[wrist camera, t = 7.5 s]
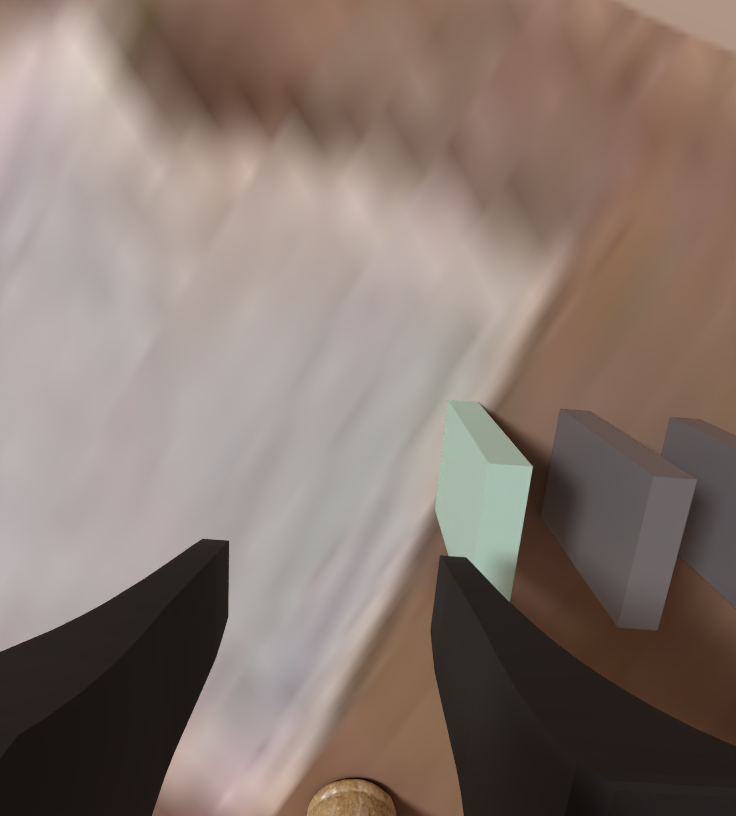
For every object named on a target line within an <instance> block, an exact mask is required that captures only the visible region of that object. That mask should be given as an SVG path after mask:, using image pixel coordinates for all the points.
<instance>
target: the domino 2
mask: <svg viewBox="0 0 736 816" xmlns="http://www.w3.org/2000/svg"><path fill="white" fill-rule="evenodd" d="M661 457H663V458H664V459H666V460H667V461H669V462H670V463H672V464H674V465H675V466H677V467H678V468H680V469H681V470H683V471H685V472H686V473H688V474H689V475H691V476H692V477H694V478H696V479H697V483H696V486H695V490H694V494H693V498H692V502H691V505H690V509H689V513H688V517H687V521H686V524H685V528H684V532H683V536H682V540H681V544H680V547H679V551H678V556H679V557H680V558H681V559H682V560H683V561H684V562H686V563H687V564H688V565H689V566H690V567H691V568H692V569H693V570H694V571H695V572H696V573H698V574H699V575H700V576H701V577H702V578H703V579H704V580H705V581H706V582H707V583H708V584H710V585H711V586H712V587H713V588H714V589H715V590H716V591H717V592H718V593H719V594H720V595H722V596H723V597H724V598H725V599H726V600H727V601H728V602H729V603H730V604H731V605H732V606H733V607H735V608H736V436H735V435H733V434H731V433H729V432H726V431H724V430H722V429H720V428H718V427H715V426H713V425H711V424H709V423H706V422H704V421H702V420H700V419H688V418H674V417H670V420H669V425H668V429H667V433H666V437H665V441H664V445H663V450H662V454H661Z"/></svg>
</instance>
